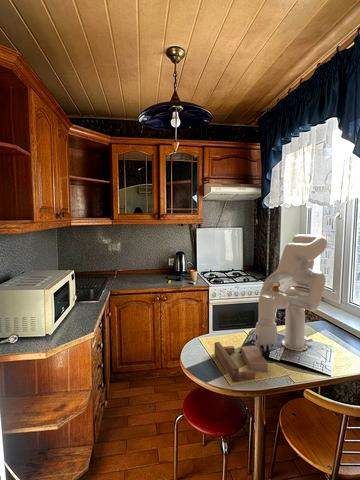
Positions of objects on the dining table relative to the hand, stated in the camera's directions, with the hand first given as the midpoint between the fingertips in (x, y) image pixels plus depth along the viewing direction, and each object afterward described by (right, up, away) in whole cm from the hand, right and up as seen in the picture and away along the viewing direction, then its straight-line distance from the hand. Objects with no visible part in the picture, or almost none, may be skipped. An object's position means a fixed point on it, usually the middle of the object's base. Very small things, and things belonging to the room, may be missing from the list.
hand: (265, 357), depth 129 cm
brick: (-6, -3, -1) cm, 7 cm away
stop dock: (-15, -2, -3) cm, 16 cm away
